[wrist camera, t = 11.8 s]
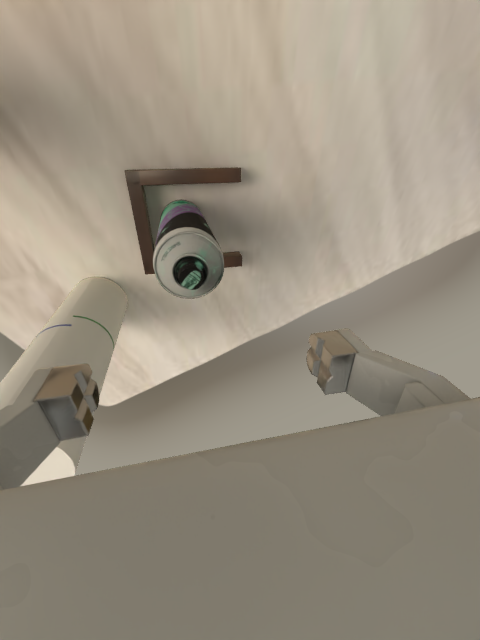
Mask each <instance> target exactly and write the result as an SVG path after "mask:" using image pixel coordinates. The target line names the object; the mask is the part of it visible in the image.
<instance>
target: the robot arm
mask: <svg viewBox="0 0 480 640" xmlns="http://www.w3.org/2000/svg"><path fill="white" fill-rule="evenodd" d="M309 344H310V345H311V348H310V349H309V350H308V352H307V365H308V368H309V370H310V372H311V374H312V375H314V376H316V377H318V380H317V383H318V385H319V386H320V388H321V389H322V391H323V392H324V394H325V395H327V394H334V393H341V392H346V393H347V394H349V395H350V396H352V397H353V398H355V399H356V400H358V401H359V402H361V403H363V404H364V405H365V406H367V407H368V408H370V409H371V410H373V411H374V412H376V413H377V414H379V415H380V417H375V418H370V419H365V420H360V421H354V422H350V423H344V424H339V425H334V426H329V427H324V428H319V429H314V430H308V431H303V432H298V433H293V434H288V435H282V436H277V437H272V438H266V439H261V440H257V441H251V442H246V443H241V444H236V445H230V446H225V447H220V448H215V449H210V450H205V451H200V452H195V453H189V454H184V455H179V456H175V457H169V458H164V459H159V460H153V461H148V462H143V463H138V464H133V465H128V466H122V467H117V468H112V469H107V470H102V471H97V472H92V473H87V474H81V475H76V476H71V477H66V478H61V479H55V480H50V481H45V482H40V483H35V484H30V485H25V486H21V485H22V484H23V483H24V482H25V481H26V480H27V478H28V477H29V476H30V475H31V474H32V473H33V472H34V471H35V470H36V469H37V468H38V466H39V465H40V464H41V463H42V462H43V461H44V460H45V459H46V458H47V457H48V456H49V455H50V453H51V452H52V451H53V450H54V449H55V448H56V447H57V446H58V445H59V444H60V441H64V440H69V439H74V438H79V437H84V436H88V435H89V432H90V429H91V426H92V423H93V416H92V413H93V412H94V411H95V410H96V409H97V407H98V403H99V389H98V385H97V383H96V381H94V380H92V379H91V375H92V370H91V368H90V365H89V364H87V363H83V364H74V365H65V366H56V367H49V368H41V369H38V370H36V371H35V372H34V373H33V375H32V376H31V378H30V379H29V381H28V382H27V384H26V385H25V387H24V388H23V390H22V391H21V393H20V394H19V396H18V397H17V399H16V400H15V402H14V403H13V405H8V406H6V407H4V408H3V409H1V410H0V640H480V397H478V398H473V399H470V398H469V397H468V396H467V395H465V394H464V393H463V392H462V391H460V390H459V389H458V388H457V387H455V386H454V385H453V384H452V383H451V382H449V381H448V380H447V379H446V378H445V377H443V376H441V375H438V374H435V373H433V372H430V371H428V370H425V369H423V368H420V367H417V366H415V365H412V364H410V363H407V362H404V361H402V360H399V359H397V358H394V357H392V356H389V355H386V354H383V353H381V352H379V351H372V350H371V349H370V348H369V347H368V346H367V345H365V344H364V342H362V341H361V340H360V339H359V338H358V337H357V336H356V335H355V334H354V333H353V332H352V331H351V330H350V329H348V328H344V329H338V330H334V331H326V332H319V333H313V334H311V335H310V337H309Z"/></svg>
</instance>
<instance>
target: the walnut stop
mask: <svg viewBox="0 0 480 640" xmlns="http://www.w3.org/2000/svg"><path fill="white" fill-rule="evenodd" d="M125 176H126V181H127V186H128V190H129V195H130V200H131V205H132V210H133V215H134V220H135V225H136V230H137V235H138V240H139V245H140V250H141V255H142V260H143V265H144V270H145V274H155V272H154V267H153V255H154V244H153V238H152V233H151V227H150V221H149V216H148V210H147V204H146V198H145V193H144V187H143V185H168V184H198V183H229V182H241V168H238V167H234V168H192V169H149V170H125ZM223 258H224V268H225V267H237V266H242V255H241V254H240V253H239V252H228V253H223Z"/></svg>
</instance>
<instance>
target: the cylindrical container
mask: <svg viewBox="0 0 480 640" xmlns="http://www.w3.org/2000/svg"><path fill="white" fill-rule="evenodd" d="M127 304H128V302H127V297H126V294H125V292H124V291H123V289H122V288H121V287H120V286H119V285H117V284H116V283H115V282H113V281H111V280H109V279H106V278H102V277H90V278H86V279H83V280H82V281H80V282H79V283H78V284H77V285H76V286H75V287H74V288H73V290H72V291H71V292H70V293H69V295H68V296H67V297H66V299H65V300H64V301H63V303H62V304H61V305H60V306H59V308H58V309H57V310H56V312H55V313H54V314H53V315H52V317H51V318H50V319H49V321H48V322H47V323H46V324H45V326H44V327H43V328H42V330H41V331H40V332H39V334H38V335H37V336H36V338H35V339H34V340H33V341H32V343H31V344H30V345H29V346H28V348H27V349H26V350H25V352H24V353H23V354H22V356H21V357H20V358H19V359H18V361H17V362H16V363H15V365H14V366H13V367H12V369H11V370H10V371H9V373H8V374H7V375H6V376H5V378H4V379H3V380H2V382H1V383H0V410H1V409H3V408H4V407H6V406H8V405H13V403H14V402H15V400H16V399H17V397H18V396H19V394H20V393H21V391H22V390H23V388H24V387H25V385H26V384H27V382H28V381H29V379H30V378H31V376H32V375H33V373H34V372H35V371H36V370H38V369H41V368H49V367H56V366H65V365H74V364H83V363H87V364H89V365H90V368H91V370H92V375H91V379H92V380H94V381H96V383H97V385H98V389H99V395H100V392H101V389H102V386H103V383H104V379H105V376H106V373H107V370H108V367H109V363H110V360H111V357H112V354H113V351H114V347H115V344H116V341H117V338H118V335H119V331H120V328H121V325H122V322H123V319H124V315H125V312H126V309H127ZM93 414H94V412H93V413H92V416H93ZM86 437H87V436H84V437H79V438H74V439H69V440H64V441H60V444H59V445H58V446H57V447H56V448H55V449H54V450H53V451H52V452H51V453H50V455H49V456H48V457H47V458H46V459H45V460H44V461H43V462H42V463H41V464H40V465H39V466H38V468H37V469H36V470H35V471H34V472H33V473H32V474H31V475H30V476H29V477H28V478H27V480H26V481H25V482H24V483H23V484H22V485H21V486H25V485H30V484H35V483H40V482H45V481H50V480H55V479H61V478H66V477H71V476H74V475H75V472H76V469H77V466H78V463H79V459H80V456H81V453H82V450H83V447H84V443H85V440H86Z"/></svg>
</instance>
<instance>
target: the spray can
mask: <svg viewBox="0 0 480 640" xmlns="http://www.w3.org/2000/svg"><path fill="white" fill-rule="evenodd" d="M153 267H154V272H155V275H156V278H157V280H158V281H159V283H160V284H161V286H162V287H163V288H164V289H165V290H166V291H168V292H169V293H171V294H173V295H174V296H177V297H180V298H186V299H194V298H199V297H202V296H205V295H207V294H208V293H210V292H212V291H213V290H214V289H215V288H216V287H217V285H218V284H219V283H220V281H221V278H222V276H223V272H224V258H223V253H222V251H221V248H220V246H219V244H218V242H217V241H216V239H215V237H214V235H213V233H212V231H211V230H210V228H209V226H208V224H207V222H206V220H205V218H204V217H203V215H202V213H201V211H200V210H199V208H198V207H197V206H196V205H194V204H193V203H191V202H189V201H186V200H176V201H173V202H171V203H170V204H168V205H167V206H166V207H165V209H164V210H163V212H162V215H161V220H160V225H159V230H158V235H157V240H156V245H155V250H154V255H153Z"/></svg>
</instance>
